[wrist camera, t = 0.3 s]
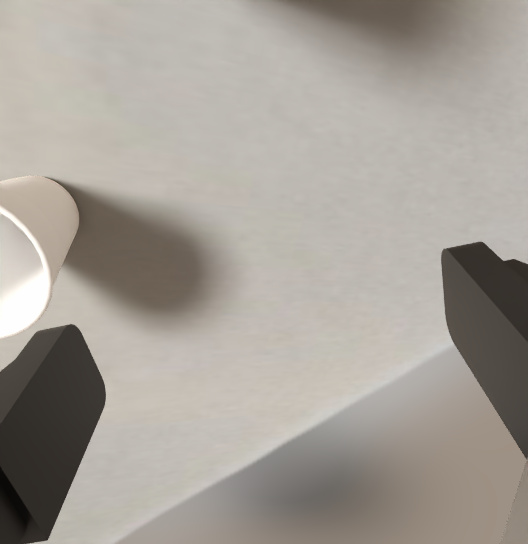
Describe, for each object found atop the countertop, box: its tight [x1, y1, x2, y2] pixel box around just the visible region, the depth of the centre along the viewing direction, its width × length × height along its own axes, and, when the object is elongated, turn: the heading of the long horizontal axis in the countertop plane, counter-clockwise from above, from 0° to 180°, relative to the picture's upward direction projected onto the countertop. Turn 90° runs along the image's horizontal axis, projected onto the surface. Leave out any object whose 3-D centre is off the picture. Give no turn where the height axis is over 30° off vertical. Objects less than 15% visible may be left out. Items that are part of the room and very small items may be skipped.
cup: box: [0, 175, 79, 338], centre depth 34 cm, size 10×10×11 cm
